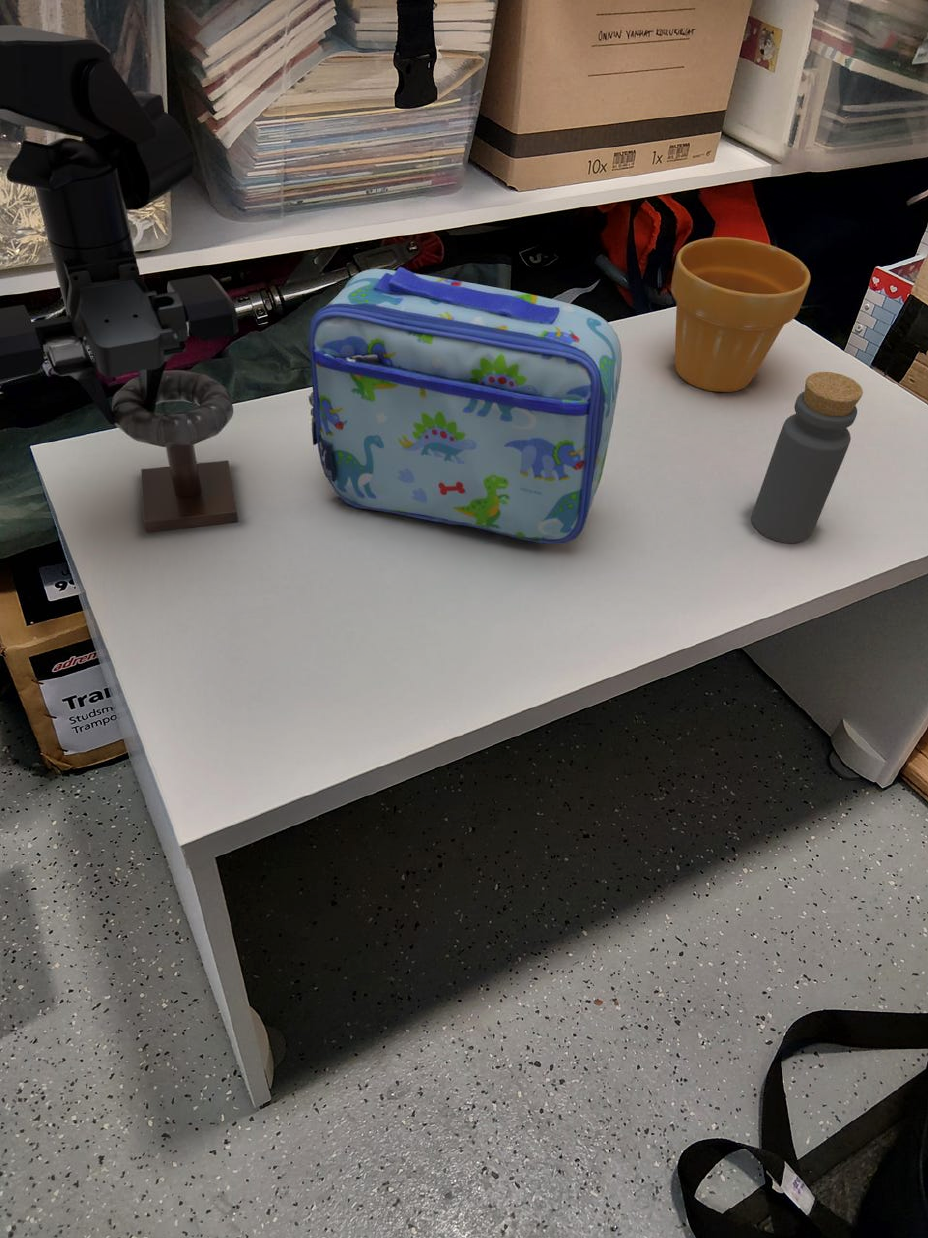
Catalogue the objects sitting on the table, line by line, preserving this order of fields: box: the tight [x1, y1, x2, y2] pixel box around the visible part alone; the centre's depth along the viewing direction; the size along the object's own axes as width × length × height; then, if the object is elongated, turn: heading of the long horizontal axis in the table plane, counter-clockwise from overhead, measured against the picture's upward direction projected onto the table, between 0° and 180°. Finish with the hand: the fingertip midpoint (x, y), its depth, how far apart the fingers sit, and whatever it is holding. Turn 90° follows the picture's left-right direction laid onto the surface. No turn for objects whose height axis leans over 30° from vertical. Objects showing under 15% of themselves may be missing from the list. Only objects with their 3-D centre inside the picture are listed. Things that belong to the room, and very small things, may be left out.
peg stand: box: [140, 444, 239, 533], centre depth 84 cm, size 8×8×8 cm
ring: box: [111, 369, 234, 448], centre depth 80 cm, size 10×10×3 cm
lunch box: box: [308, 266, 623, 545], centre depth 81 cm, size 26×11×21 cm, turn 72°
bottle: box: [751, 371, 864, 544], centre depth 84 cm, size 6×6×15 cm
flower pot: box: [670, 236, 811, 393], centre depth 104 cm, size 14×14×13 cm
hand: (130, 418), depth 78 cm, fingers closed on ring, 3 cm apart
